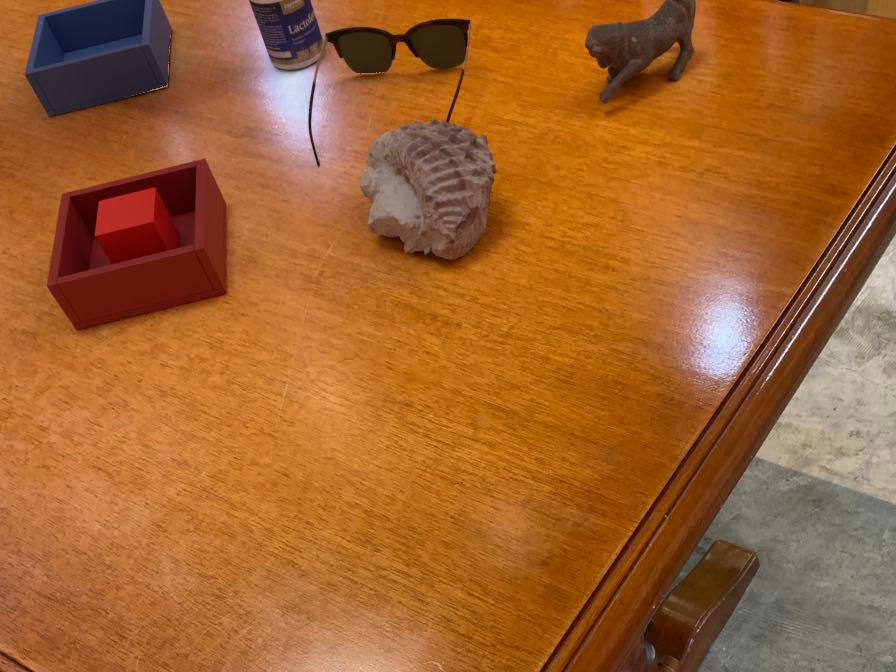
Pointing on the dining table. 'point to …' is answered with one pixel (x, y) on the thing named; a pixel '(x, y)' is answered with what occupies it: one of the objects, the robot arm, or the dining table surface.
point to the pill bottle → (288, 31)
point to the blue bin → (98, 53)
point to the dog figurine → (642, 43)
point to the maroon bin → (146, 278)
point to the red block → (135, 226)
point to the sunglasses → (377, 49)
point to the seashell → (430, 187)
